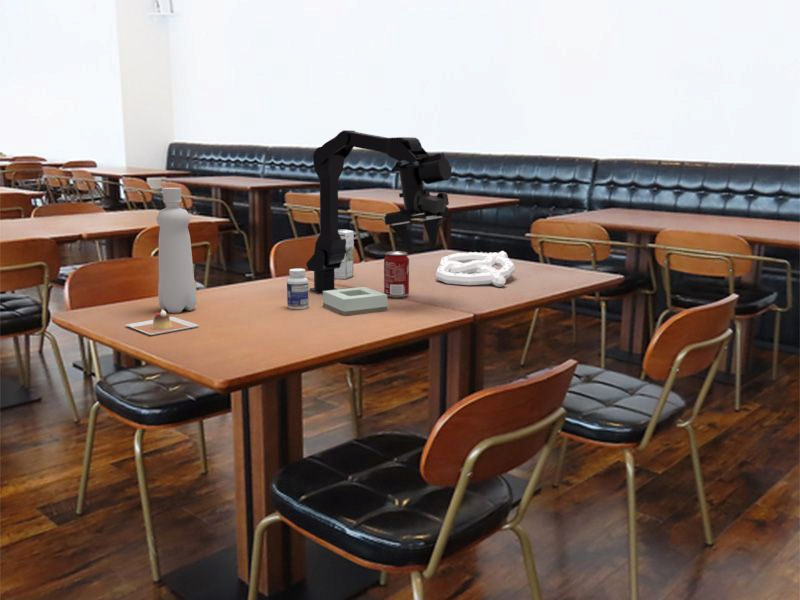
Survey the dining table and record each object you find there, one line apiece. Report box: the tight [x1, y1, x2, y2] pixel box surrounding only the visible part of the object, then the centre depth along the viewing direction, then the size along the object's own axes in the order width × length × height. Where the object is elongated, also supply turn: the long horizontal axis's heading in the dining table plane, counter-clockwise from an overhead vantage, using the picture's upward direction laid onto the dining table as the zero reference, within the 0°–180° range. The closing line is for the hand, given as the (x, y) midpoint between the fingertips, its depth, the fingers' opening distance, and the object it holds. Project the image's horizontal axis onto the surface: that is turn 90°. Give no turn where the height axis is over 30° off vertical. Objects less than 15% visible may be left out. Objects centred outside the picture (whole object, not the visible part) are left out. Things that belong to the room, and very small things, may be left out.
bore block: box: [322, 286, 388, 317], centre depth 195 cm, size 12×12×4 cm
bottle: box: [155, 187, 198, 314], centre depth 189 cm, size 9×9×30 cm
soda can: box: [383, 250, 410, 299], centre depth 209 cm, size 7×7×12 cm
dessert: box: [125, 308, 200, 336], centre depth 174 cm, size 12×12×5 cm
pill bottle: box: [286, 268, 310, 310], centre depth 195 cm, size 5×5×10 cm
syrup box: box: [334, 229, 355, 280], centre depth 236 cm, size 6×6×14 cm
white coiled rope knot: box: [434, 250, 516, 288], centre depth 237 cm, size 28×24×6 cm
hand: (422, 248), depth 196 cm, fingers open, 9 cm apart
